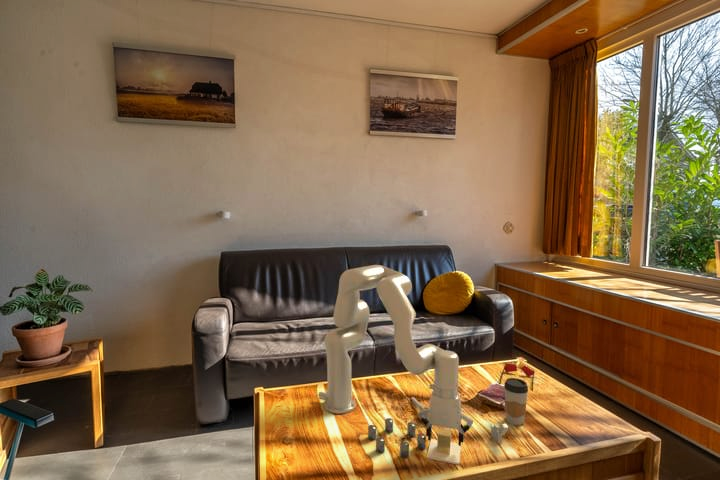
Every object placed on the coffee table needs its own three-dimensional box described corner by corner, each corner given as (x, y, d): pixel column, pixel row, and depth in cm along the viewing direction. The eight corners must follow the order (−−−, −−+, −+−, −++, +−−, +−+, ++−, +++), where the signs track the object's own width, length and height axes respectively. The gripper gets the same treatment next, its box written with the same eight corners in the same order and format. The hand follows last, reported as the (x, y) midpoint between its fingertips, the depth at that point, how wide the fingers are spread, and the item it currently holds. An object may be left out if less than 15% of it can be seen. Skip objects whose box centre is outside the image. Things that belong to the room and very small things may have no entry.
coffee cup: (527, 418, 149) (528, 379, 148) (526, 429, 142) (528, 389, 140) (503, 413, 153) (505, 375, 151) (501, 424, 145) (503, 384, 144)
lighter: (490, 437, 137) (491, 415, 136) (494, 436, 137) (495, 414, 137) (503, 449, 130) (503, 426, 129) (507, 448, 131) (508, 425, 130)
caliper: (429, 425, 144) (429, 409, 144) (426, 426, 144) (426, 409, 144) (412, 398, 164) (413, 384, 164) (410, 399, 164) (410, 384, 164)
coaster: (426, 458, 125) (426, 456, 125) (431, 440, 135) (431, 438, 135) (459, 464, 122) (459, 462, 122) (461, 446, 132) (461, 444, 132)
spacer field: (361, 450, 129) (361, 438, 129) (374, 426, 143) (374, 415, 143) (422, 462, 123) (422, 450, 123) (428, 436, 137) (429, 425, 137)
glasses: (534, 377, 185) (535, 367, 185) (532, 392, 171) (533, 380, 170) (503, 371, 192) (503, 361, 191) (499, 385, 177) (499, 374, 177)
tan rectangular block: (437, 452, 127) (437, 434, 127) (438, 445, 131) (439, 427, 131) (449, 454, 126) (450, 436, 126) (450, 447, 130) (451, 430, 129)
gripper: (417, 391, 126) (416, 442, 127) (473, 399, 120) (471, 453, 122) (420, 381, 133) (419, 429, 134) (474, 389, 128) (472, 439, 129)
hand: (444, 440), depth 128 cm, fingers open, 9 cm apart
